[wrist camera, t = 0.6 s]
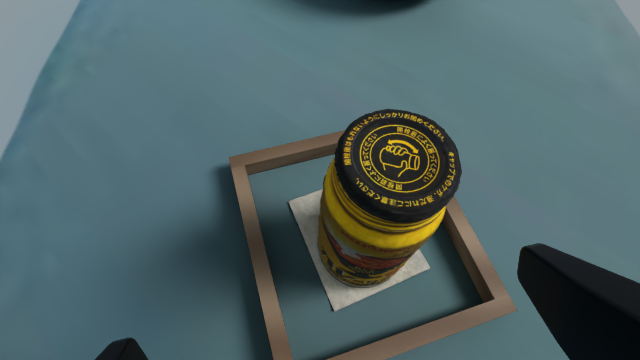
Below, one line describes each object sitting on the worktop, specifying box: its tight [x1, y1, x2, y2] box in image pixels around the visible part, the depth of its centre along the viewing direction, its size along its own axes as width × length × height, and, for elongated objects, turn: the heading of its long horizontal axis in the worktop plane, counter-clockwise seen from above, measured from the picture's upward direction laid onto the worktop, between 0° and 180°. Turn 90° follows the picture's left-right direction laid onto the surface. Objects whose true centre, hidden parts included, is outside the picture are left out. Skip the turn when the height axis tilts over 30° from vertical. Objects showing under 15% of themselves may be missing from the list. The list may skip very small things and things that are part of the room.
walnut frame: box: [229, 130, 517, 360], centre depth 24 cm, size 16×15×2 cm
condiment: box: [289, 109, 462, 311], centre depth 19 cm, size 7×8×12 cm
